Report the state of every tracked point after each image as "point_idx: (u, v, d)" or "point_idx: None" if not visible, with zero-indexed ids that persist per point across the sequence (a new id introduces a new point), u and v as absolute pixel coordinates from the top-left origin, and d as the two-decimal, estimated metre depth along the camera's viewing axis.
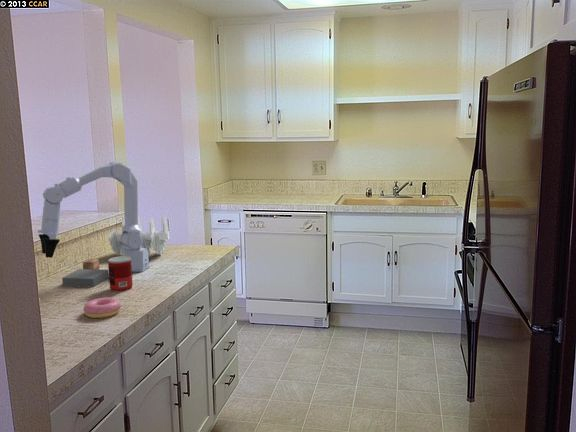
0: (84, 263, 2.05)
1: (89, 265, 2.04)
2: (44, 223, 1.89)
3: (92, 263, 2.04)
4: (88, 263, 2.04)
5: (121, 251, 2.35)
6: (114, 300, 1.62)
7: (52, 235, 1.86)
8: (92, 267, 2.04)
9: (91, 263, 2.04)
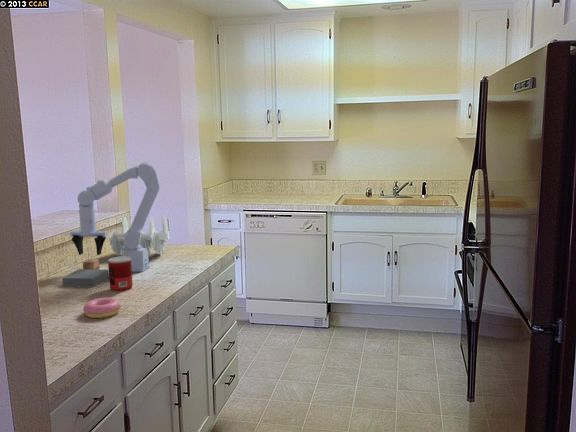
0: (84, 263, 2.05)
1: (89, 265, 2.04)
2: (89, 225, 2.02)
3: (92, 263, 2.04)
4: (88, 263, 2.04)
5: (121, 251, 2.35)
6: (114, 300, 1.62)
7: (105, 233, 2.04)
8: (92, 267, 2.04)
9: (91, 263, 2.04)
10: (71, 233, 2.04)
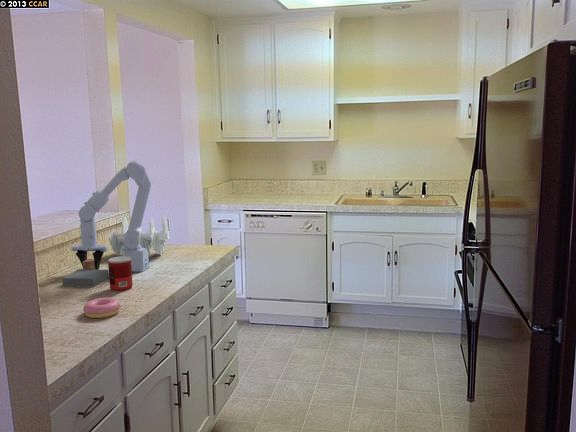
0: (84, 263, 2.04)
1: (89, 265, 2.04)
2: (90, 240, 2.03)
3: (92, 263, 2.04)
4: (88, 263, 2.04)
5: (121, 251, 2.35)
6: (114, 300, 1.62)
7: (106, 247, 2.05)
8: (92, 267, 2.04)
9: (91, 263, 2.04)
10: (72, 248, 2.05)
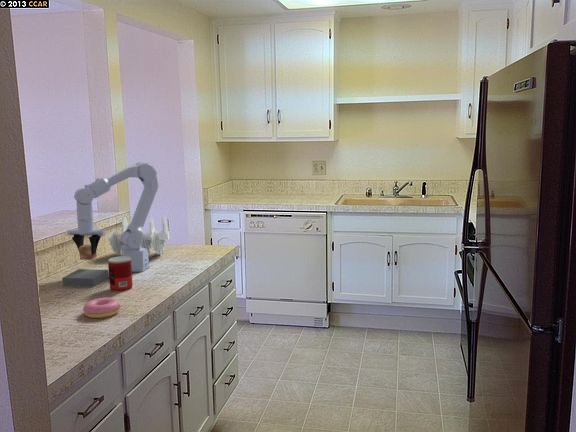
0: (81, 248, 1.99)
1: (86, 250, 1.99)
2: (86, 224, 1.97)
3: (89, 248, 1.99)
4: (85, 248, 1.99)
5: (121, 251, 2.35)
6: (114, 300, 1.62)
7: (103, 232, 1.99)
8: (89, 252, 1.99)
9: (88, 248, 1.99)
10: (68, 232, 2.00)
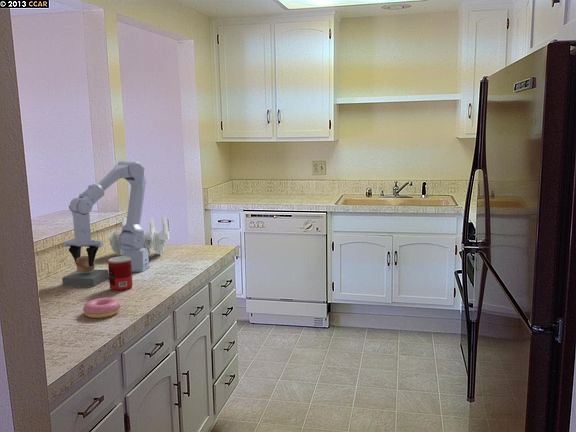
0: (78, 260, 1.92)
1: (83, 262, 1.92)
2: (83, 235, 1.90)
3: (86, 260, 1.92)
4: (82, 260, 1.92)
5: (121, 251, 2.35)
6: (114, 300, 1.62)
7: (101, 243, 1.92)
8: (86, 264, 1.92)
9: (85, 260, 1.92)
10: (65, 243, 1.92)
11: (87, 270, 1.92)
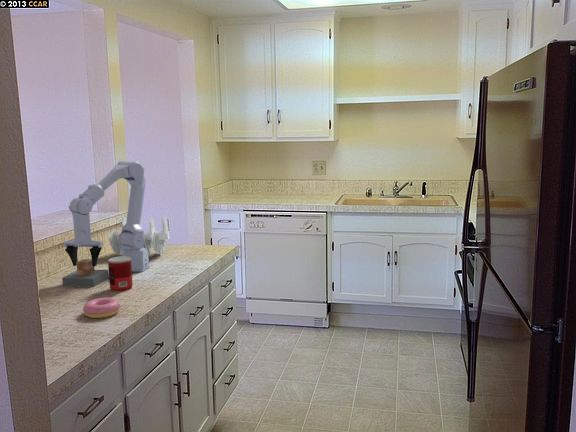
0: (78, 263, 1.92)
1: (83, 265, 1.92)
2: (83, 235, 1.90)
3: (86, 263, 1.92)
4: (82, 263, 1.92)
5: (121, 251, 2.35)
6: (113, 300, 1.62)
7: (101, 243, 1.92)
8: (86, 267, 1.92)
9: (85, 263, 1.92)
10: (65, 243, 1.92)
11: (87, 273, 1.92)
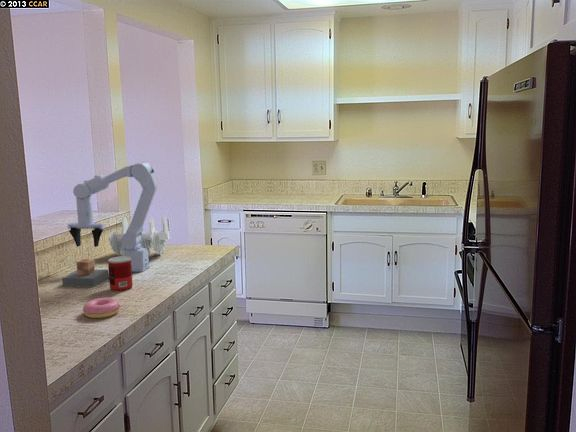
0: (78, 263, 1.92)
1: (83, 265, 1.92)
2: (86, 217, 2.05)
3: (86, 263, 1.92)
4: (82, 263, 1.92)
5: (121, 251, 2.35)
6: (113, 300, 1.62)
7: (102, 225, 2.07)
8: (86, 267, 1.92)
9: (85, 263, 1.92)
10: (69, 225, 2.08)
11: (87, 273, 1.92)
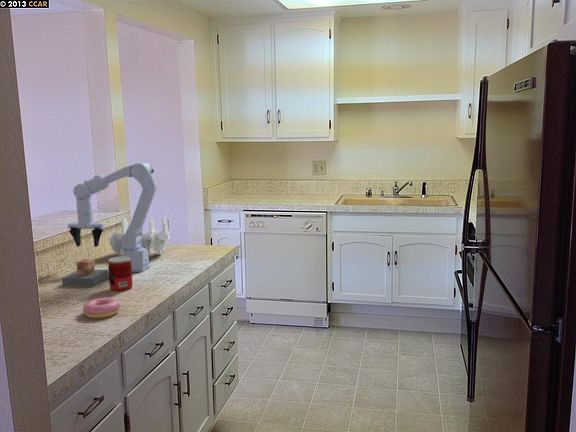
0: (78, 263, 1.92)
1: (83, 265, 1.92)
2: (86, 217, 2.05)
3: (86, 263, 1.92)
4: (82, 263, 1.92)
5: (121, 251, 2.35)
6: (113, 300, 1.62)
7: (102, 225, 2.07)
8: (86, 267, 1.92)
9: (85, 263, 1.92)
10: (69, 225, 2.08)
11: (87, 273, 1.92)
